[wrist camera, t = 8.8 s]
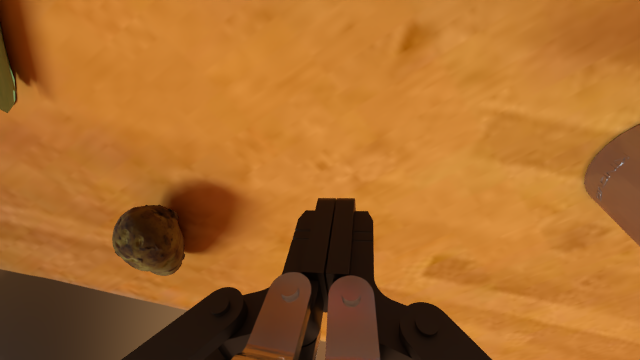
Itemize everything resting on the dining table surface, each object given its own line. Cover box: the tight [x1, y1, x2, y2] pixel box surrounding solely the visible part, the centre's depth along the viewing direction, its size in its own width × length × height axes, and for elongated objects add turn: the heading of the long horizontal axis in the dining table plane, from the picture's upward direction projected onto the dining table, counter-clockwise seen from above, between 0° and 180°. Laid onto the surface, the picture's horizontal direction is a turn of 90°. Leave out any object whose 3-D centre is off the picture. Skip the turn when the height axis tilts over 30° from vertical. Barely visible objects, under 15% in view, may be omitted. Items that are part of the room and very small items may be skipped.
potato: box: [112, 205, 185, 276], centre depth 33 cm, size 8×13×8 cm, turn 143°
